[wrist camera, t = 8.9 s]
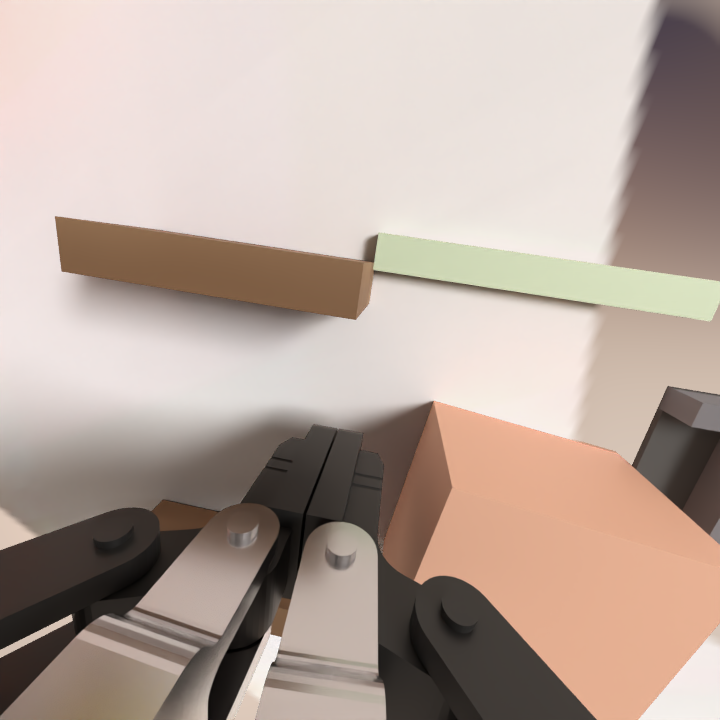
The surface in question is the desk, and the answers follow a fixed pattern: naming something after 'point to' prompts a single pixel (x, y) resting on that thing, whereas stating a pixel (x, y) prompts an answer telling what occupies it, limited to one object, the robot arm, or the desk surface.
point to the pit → (686, 455)
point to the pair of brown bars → (215, 291)
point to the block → (561, 553)
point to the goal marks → (548, 276)
